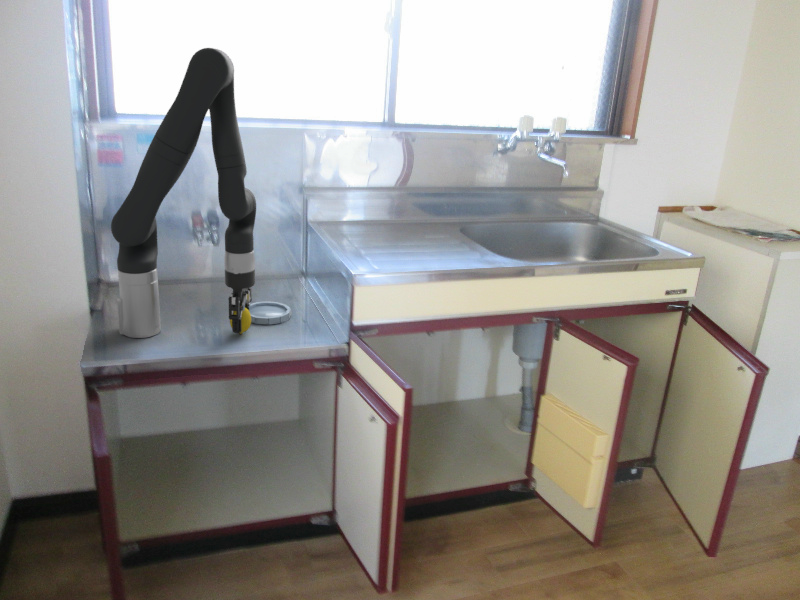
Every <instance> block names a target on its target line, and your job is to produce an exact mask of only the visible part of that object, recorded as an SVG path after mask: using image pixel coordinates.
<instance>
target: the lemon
mask: <svg viewBox="0 0 800 600" xmlns="http://www.w3.org/2000/svg"><path fill="white" fill-rule="evenodd" d="M240 307H241V306H240ZM234 315H237V312H236V311H235V312H234ZM229 324H230V327H231V328H232V319H229ZM251 324H252V322H251V314H250V312H249V310H248V309H247V308H245V309H244V311H243V312H242V318H241V327H242V331H241V332H240V333H238V334H239V335H242V334H243V333H244V332H245V333H246V331H248V330H249V329H250V327H251V326H252V325H251Z"/></svg>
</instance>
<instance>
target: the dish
mask: <svg viewBox="0 0 800 600" xmlns="http://www.w3.org/2000/svg"><path fill="white" fill-rule="evenodd" d="M249 312H250V314H251V324H256V325H275V324H276V325H277V324H282V323H284V322H286V321H288V320H290V318H291V316H292V308H291V307H289V305H288V304H285V303H282V302H279V301H278V302H277V301H257V302H253V303H252V302H251V303H250V307H249Z"/></svg>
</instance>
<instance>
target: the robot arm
mask: <svg viewBox="0 0 800 600" xmlns="http://www.w3.org/2000/svg"><path fill="white" fill-rule="evenodd" d="M235 100H236V99H235V66H234V63H233V61H232V59H231V58H230V55H228V54H227V53H226V52H224V51H223V50H220V49H218V48H214V47H204V48H201V49H199V50H198V51H196V52H195V53H194V54H193V55H192V57H190V60H189V62H188V65H187V68H186V71H185V74H184V77H183V80H182V82H181V86H180V88H179V89H178V92H177V95H176V97H175V99H174V101H173V103H172V104H171V105H170V108H169V109H168V110H167V113H166V114H165V116H164V118H163V119H162V121H161V123H160V124H159V127H158V128H157V130H156V133H155V134H154V135H153V138H152V139H151V141H150V144H149V146H148V148H147V150H146V153H145V155H144V158H143V160H142V161H141V165H140V166H139V169H138V172H137V175H136V177H135V181H134V183H133V185H132V187H131V189H130V191H129V192H128V194H127V195H126V197H125V199H124V201H123V203H122V204H121V205H120V207H119V209H118V210H117V211H116V213H115V214H114V215H113V216H112V218H111V224H110V230H111V234H112V236H113V239H114V240H115V241H116V242H117V243H118V245H119V246H118V255H117V258H116V259H117V260H116V265H117V277H118V289H119V297H118V298H117V299H116V303H117V304H116V305H117V307H116V308H117V315H118V317H117V318H118V329H119V335H123V336H126V337H128V338H135V339H142V338H143V339H144V338H149V337H150V338H151V337H154V336H155V335H157V334H159V333H161V328H162V326H161V323H162V322H161V313H160V312H161V310H160V295H159V281H158V264H157V263H158V261H157V260H158V251H159V247H158V245H159V244H158V226H157V225H158V223H157V218H156V216H157V213H158V211H159V209H160V206H161V204H162V203H163V201H164V200H165V198H166V196H167V195H168V194H169V192H170V191H171V189H173V187H174V186H175V184H176V183H177V182H178V180H179V179H180V177H181V176H182V174H183V172H184V171H185V169H186V168H187V165H188V164H189V162H190V159H191V157H192V156H193V154H194V151H195V149H196V147H197V144H198V142H199V138H200V135H201V131H202V127H203V124H204V121H205V117H206V115H207V113H208V111H209V117H210V118H209V119H210V126H211V127H210V129H211V130H210V131H211V145H212V152H213V157H214V162H215V167H216V172H217V178H218V179H217V193H218V194H217V195H218V196H217V198H218V204H219V207H220V210H221V213H222V214H223V216H224V217H225V218H226V219H228V226H227V228H226V229H225V232H224V259H223V260H224V262H223V263H224V284H225V286H226V287H228V288H231V290H232V292H231V294H230V296H229V297H228V319H229V320H230V319H232V327H231V331H232V333H235V334H239V333H240V332H241V331H242V327H241V318H242V312H243V311H244V309H245V308H247V309H248V310H249V307H250V304H251V303H252V302H253V298H252V288H253V286H255V284H256V260H255V259H256V258H255V252H254V248H255V247H254V229H255V222H256V216H257V215H256V214H257V200H256V197H255V194H254V193H253V192H252V191H251V189H248V188H246V187H245V185H246V184H245V178H246V176H247V162H246V159H245V158H246V157H245V153H244V148H243V144H242V143H243V142H242V139H241V137H242V136H241V134H240V132H241V131H240V129H239V122H238V118H237V117H238V116H237V111H236V101H235ZM240 306H241V307H240ZM235 311H236V312H237V315H234V312H235Z"/></svg>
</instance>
